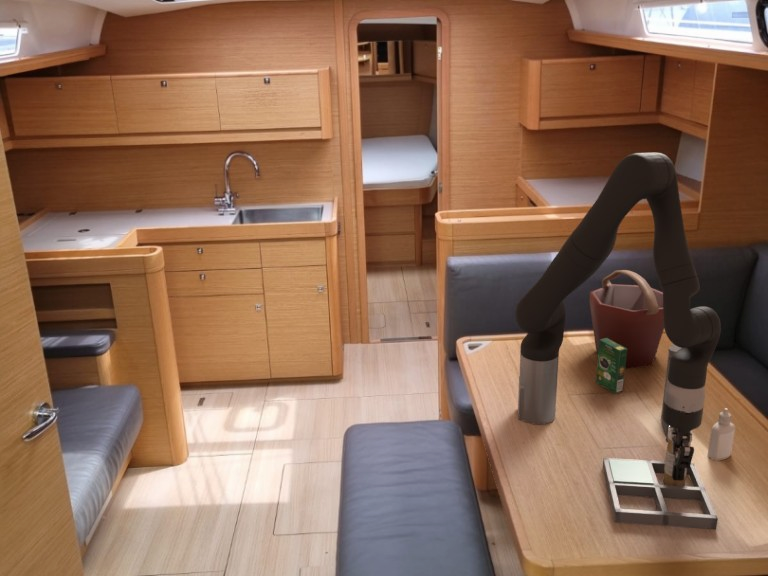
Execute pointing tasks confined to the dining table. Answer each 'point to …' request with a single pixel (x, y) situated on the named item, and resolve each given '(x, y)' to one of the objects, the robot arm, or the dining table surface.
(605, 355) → the coffee box
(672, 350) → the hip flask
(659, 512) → the organizer
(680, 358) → the robot arm
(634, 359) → the bucket
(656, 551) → the dining table surface
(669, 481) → the sprinkles bottle
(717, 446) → the eye dropper bottle
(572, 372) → the dining table surface
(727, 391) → the dining table surface
